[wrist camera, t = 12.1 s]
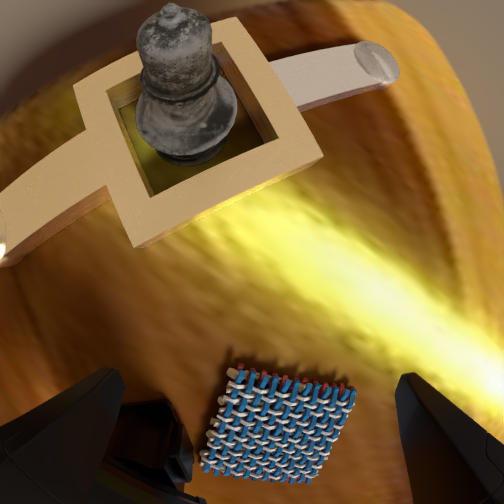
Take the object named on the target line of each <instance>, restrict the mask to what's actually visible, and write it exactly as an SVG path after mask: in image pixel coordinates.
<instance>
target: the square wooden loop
mask: <svg viewBox="0 0 504 504" xmlns="http://www.w3.org/2000/svg"><path fill="white" fill-rule="evenodd" d="M210 25H211V28H212V53H213V54H214V56H215V55H218V54H221V56H222V57H223V59H224V61H225V62H226V64H227V65H228V67H229V69H230V70H231V72H232V74H233V75H234V77H235V79H236V80H237V82H238V84H239V85H240V87H241V89H242V90H243V92H244V94H245V95H246V97H247V99H248V101H249V102H250V104H251V106H252V107H253V109H254V111H255V113H256V114H257V116H258V118H259V120H260V122H261V123H262V125H263V127H264V129H265V131H266V132H267V134H268V136H269V138H270V140H271V142H269V143H266V144H264V145H261V146H259V147H257V148H254V149H252V150H250V151H247V152H245V153H243V154H240V155H238V156H236V157H234V158H231V159H229V160H227V161H225V162H222V163H220V164H218V165H216V166H214V167H212V168H209V169H207V170H205V171H203V172H201V173H199V174H197V175H195V176H193V177H191V178H189V179H187V180H185V181H183V182H181V183H179V184H177V185H175V186H173V187H171V188H169V189H167V190H165V191H163V192H161V193H159V194H157V195H155V196H152V194H151V192H150V190H149V188H148V185H147V183H146V181H145V179H144V176H143V174H142V172H141V170H140V167H139V165H138V163H137V160H136V158H135V156H134V153H133V151H132V148H131V146H130V144H129V141H128V139H127V136H126V134H125V131H124V129H123V126H122V124H121V121H120V119H119V116H118V114H117V111H116V109H115V106H114V103H113V101H112V100H114V99H116V98H118V97H120V96H121V95H123V94H125V93H127V92H129V91H131V90H133V89H135V88H137V87H139V86H141V83H140V75H141V70H142V68H143V64H142V62H141V59H140V56H139V53H138V51H136V52H134V53H132V54H129V55H127V56H125V57H123V58H121V59H119V60H117V61H115V62H113V63H111V64H109V65H107V66H106V67H104V68H102V69H100V70H98V71H96V72H95V73H93V74H91V75H89V76H87V77H86V78H84V79H82V80H81V81H79V82H77V83H76V84H74V85H73V88H74V91H75V95H76V98H77V102H78V105H79V109H80V112H81V115H82V118H83V121H84V124H85V128H86V130H85V131H83V132H81V133H80V134H78V135H77V136H75V137H74V138H72V139H71V140H69V141H68V142H66V143H65V144H63V145H62V146H60V147H59V148H57V149H56V150H54V151H53V152H51V153H50V154H49V155H47V156H46V157H45V158H43V159H42V160H40V161H39V162H38V163H36V164H35V165H34V166H32V167H31V168H30V169H29V170H27V171H26V172H25V173H24V174H22V175H21V176H20V177H19V178H17V179H16V180H15V181H14V182H13V183H11V184H10V185H9V186H8V187H7V188H5V189H4V190H3V191H2V192H1V193H0V267H8V266H15V265H17V264H19V263H20V262H21V261H22V260H23V259H24V257H25V256H26V255H27V254H28V253H29V252H31V251H32V250H34V249H35V248H36V247H38V246H39V245H41V244H42V243H43V242H45V241H46V240H48V239H49V238H51V237H52V236H53V235H55V234H56V233H58V232H59V231H61V230H62V229H64V228H65V227H67V226H68V225H70V224H71V223H73V222H75V221H76V220H78V219H79V218H81V217H82V216H84V215H86V214H87V213H89V212H90V211H92V210H94V209H95V208H97V207H99V206H100V205H102V204H104V203H105V202H107V201H109V200H110V199H112V200H113V203H114V205H115V207H116V210H117V212H118V214H119V217H120V219H121V221H122V223H123V226H124V228H125V230H126V232H127V235H128V237H129V239H130V241H131V243H132V245H133V248H140V247H142V246H144V245H146V244H148V243H150V242H152V241H153V240H155V239H157V238H159V237H161V236H163V235H165V234H167V233H169V232H171V231H172V230H174V229H176V228H178V227H180V226H182V225H184V224H186V223H188V222H190V221H192V220H194V219H196V218H198V217H200V216H202V215H204V214H206V213H208V212H210V211H212V210H214V209H216V208H218V207H220V206H222V205H224V204H226V203H228V202H230V201H232V200H234V199H236V198H239V197H241V196H243V195H245V194H247V193H249V192H251V191H253V190H256V189H258V188H260V187H262V186H264V185H266V184H268V183H271V182H273V181H275V180H277V179H279V178H282V177H284V176H286V175H288V174H291V173H293V172H295V171H297V170H300V169H302V168H304V167H306V166H309V165H311V164H313V163H316V162H317V161H318V160H320V159H321V158H322V157H323V156H324V155H323V154H322V152H321V150H320V148H319V146H318V144H317V142H316V140H315V139H314V137H313V135H312V133H311V131H310V130H309V128H308V126H307V124H306V123H305V121H304V119H303V117H302V116H301V114H300V112H299V110H298V109H297V107H296V105H295V104H294V102H293V100H292V99H291V97H290V95H289V94H288V92H287V90H286V89H285V87H284V86H283V84H282V82H281V81H280V79H279V78H278V76H277V75H276V73H275V72H274V70H273V68H272V67H271V65H270V64H269V62H268V61H267V59H266V58H265V56H264V55H263V54H262V52H261V51H260V49H259V48H258V46H257V45H256V43H255V42H254V41H253V39H252V38H251V36H250V35H249V34H248V32H247V31H246V29H245V28H244V27H243V25H242V24H241V23H240V21H239V20H238V19H237V17H233V18H229V19H225V20H221V21H218V22H214V23H211V24H210Z"/></svg>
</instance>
